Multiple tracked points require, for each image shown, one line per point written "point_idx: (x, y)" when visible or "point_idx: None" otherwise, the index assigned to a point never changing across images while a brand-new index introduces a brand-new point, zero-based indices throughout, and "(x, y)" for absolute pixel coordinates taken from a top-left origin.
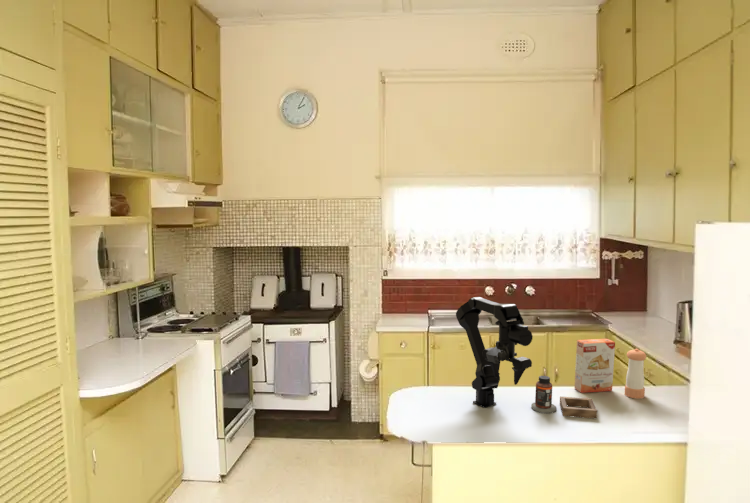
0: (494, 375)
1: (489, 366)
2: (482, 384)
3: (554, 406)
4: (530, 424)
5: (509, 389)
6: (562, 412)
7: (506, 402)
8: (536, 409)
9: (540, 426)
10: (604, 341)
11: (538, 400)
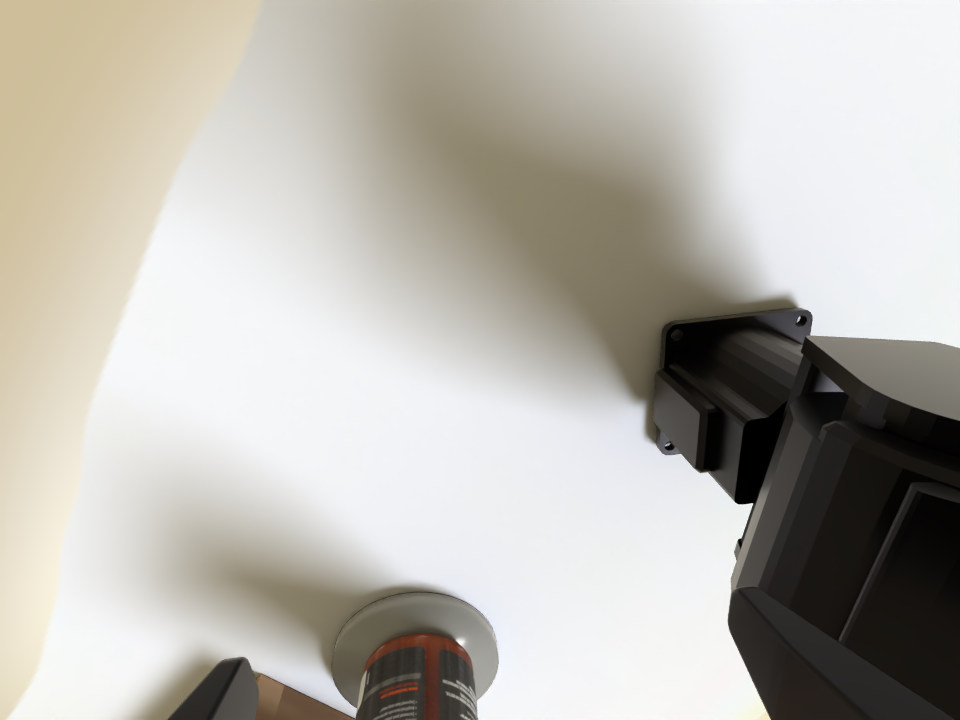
0: (784, 611)
1: None
2: (846, 388)
3: None
4: (222, 422)
5: None
6: (285, 697)
7: (634, 527)
8: (400, 605)
9: (160, 460)
10: None
11: (408, 681)
